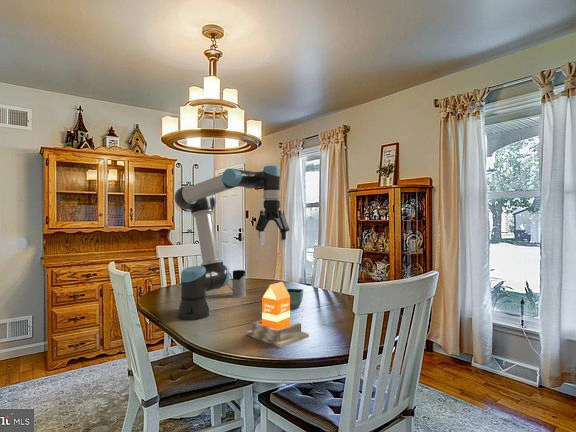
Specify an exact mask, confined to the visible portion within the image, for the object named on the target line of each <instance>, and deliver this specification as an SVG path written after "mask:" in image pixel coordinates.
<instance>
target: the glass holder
mask: <svg viewBox="0 0 576 432" xmlns="http://www.w3.org/2000/svg"><path fill="white" fill-rule="evenodd" d="M229 273H230V280H232V287H231V285H229V283H227V284H226V286H227V287H228V288H230V289H231V291H232V294H231V297H232V298H245V297H246V296H247V294H246V290H247V289H246V282H247V281H246V270H243V269H236V270H233V271H232V273H231V272H229Z"/></svg>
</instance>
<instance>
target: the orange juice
mask: <svg viewBox="0 0 576 432" xmlns="http://www.w3.org/2000/svg"><path fill="white" fill-rule="evenodd" d="M261 299H262V300H261V302H262V303H261V304H262V305H261V306H262V307H261V308H262V309H261V310H262V311H261V320H262V325H265V326H268V327H271V328H274V329H277V330H278V329H281V328H284V327H287V326H290V325H291V308H290V295H289V294H288V292H287V288H286V286H285V285H284V282H283V281H280V282H276V283H271V284H269V286H268V288H267V289H266V291H265V292H264V293H263V296H262V298H261Z"/></svg>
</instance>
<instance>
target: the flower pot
mask: <svg viewBox="0 0 576 432" xmlns="http://www.w3.org/2000/svg"><path fill="white" fill-rule="evenodd" d="M286 290H287V292H288V294H289V295H290V309H295V310H296V309H299V308H300V306H301V305H302V301H303V296H304V289H300V288H286Z"/></svg>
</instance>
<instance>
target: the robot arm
mask: <svg viewBox="0 0 576 432" xmlns="http://www.w3.org/2000/svg"><path fill="white" fill-rule="evenodd" d="M280 184H281V175H280V167H279V166H277V165H265V166H263V170H262V171H251V170H245V169H244V170H243V169H237V168H227V169H225V170H224V171H223V173H222V174H220V175H216V176H214V177H211V178H209V179H206V180H203V181H201V182H198V183H196V184H192V185H190V184H187V185H185V186H181V187H180V188H178V189H177V190H176V192H175V193H174V203H176V206H177V207H179V208H180V209H183V210H186V211H190V213H191V216H193V217H194V219H195V224H196V231H197V236H198V241H199V247H200V253H201V259H202V260H201V261H202V263H201V264H200V265H195V266H194V265H193V266H189V267H187V268H184V269H182V271H181V273H180V303H179V306H178V309H177V312H176V313H177V314H176V316H177V318H178V319H179V320H186V321H188V320H189V321H193V320H194V321H195V320H201V319H204V318H207V317H208V316H210V309H209V305H208V302H207V300H206V299H207V297H206V294H207V293H206V292H208V291H214V290H219V289H222V288H223V287H225V286H227V283H228V282H229V281H230V279H231V276H230V273H231V272H230V270H229V268H228V267H227V265H225V264H224V261H223V260H222V259H220V257H219V256H220V255H219V249H218V245H217V239H216V233H215V228H214V227H215V226H214V221H213V217H212V215H213V213H214V209H215V207H216V206H217V205H216V204H217V197H216V194H219V193H223V192H226V191H228V190H232V189H235V188H237V187H240V188H245V189H258V188H259V189H260V188H263V189H262V190H263V194H262V195H263V209H264V210H260V211H259V217H258V220H257V223H256V226H255V230H256V231H258V238H259V239H258V240H259V241H258V243H259V246H265V245H266V241H265V239H266V231H265V229H266V228H267V225H268V224H269V222H270V221H274V222H275V224H276V226H277V229H279V231H280V232H279V234H278V235H279V237H278V238H279V242H278V243H279V245H278V246H279V248H286V240H287V239H286V238H287V232H289V231H290V227H289V224H288V221H287V219H286V216H285V211H284V210H281V209H280V208H281V201H280V198H281V190H280V187H281V185H280ZM228 284H229V283H228Z"/></svg>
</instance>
